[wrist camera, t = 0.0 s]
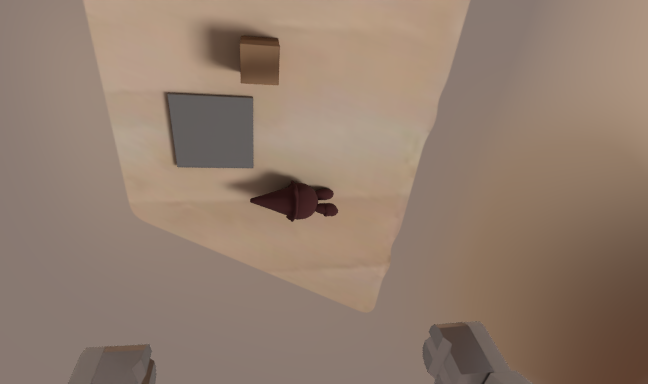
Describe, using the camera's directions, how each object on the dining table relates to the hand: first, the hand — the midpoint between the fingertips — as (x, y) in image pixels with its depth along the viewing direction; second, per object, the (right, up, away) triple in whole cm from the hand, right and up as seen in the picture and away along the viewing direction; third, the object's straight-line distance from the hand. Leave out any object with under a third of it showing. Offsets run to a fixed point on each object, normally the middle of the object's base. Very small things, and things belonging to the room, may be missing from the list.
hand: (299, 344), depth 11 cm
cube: (-8, +24, +41) cm, 48 cm away
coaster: (-16, +14, +46) cm, 51 cm away
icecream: (-5, +5, +55) cm, 55 cm away
